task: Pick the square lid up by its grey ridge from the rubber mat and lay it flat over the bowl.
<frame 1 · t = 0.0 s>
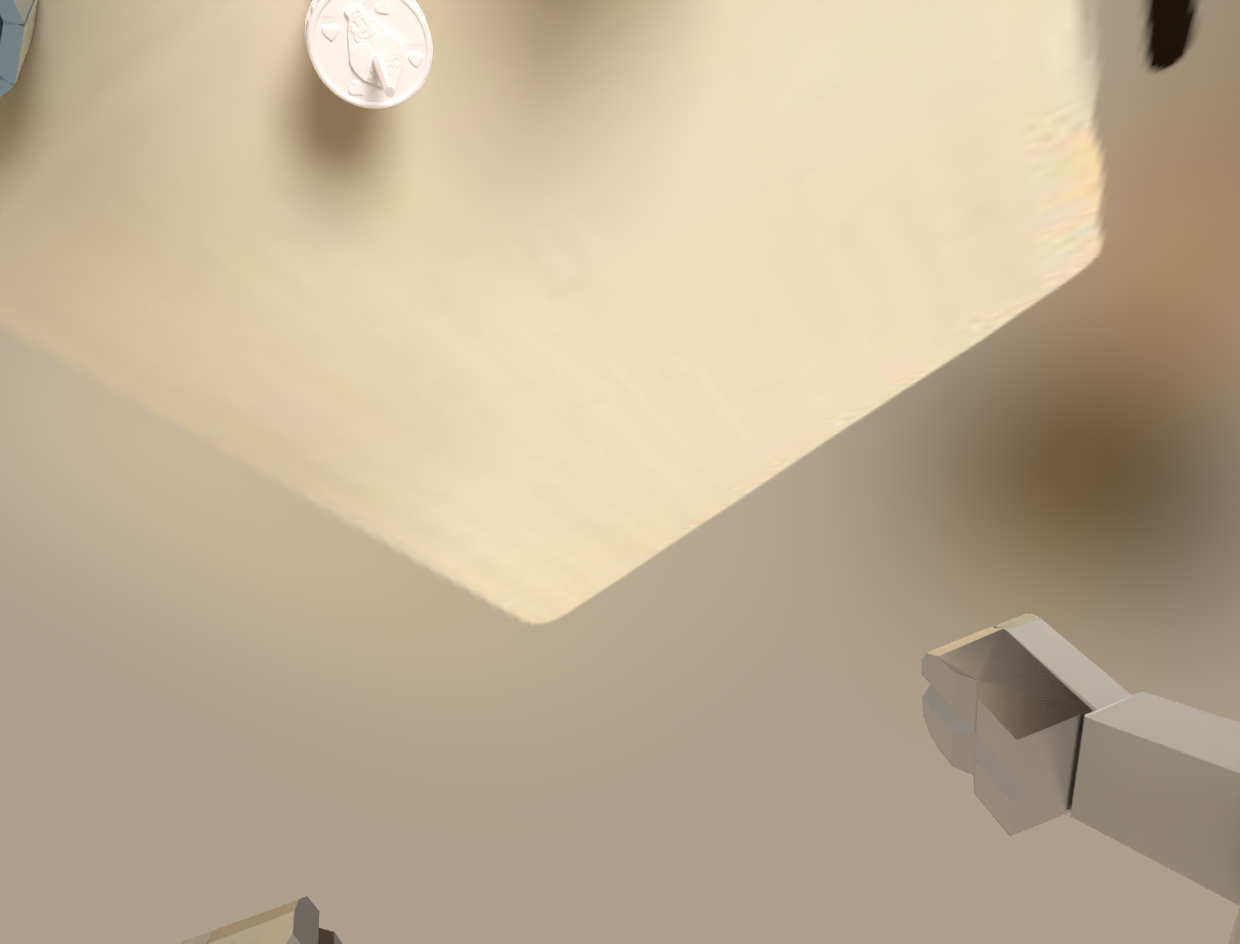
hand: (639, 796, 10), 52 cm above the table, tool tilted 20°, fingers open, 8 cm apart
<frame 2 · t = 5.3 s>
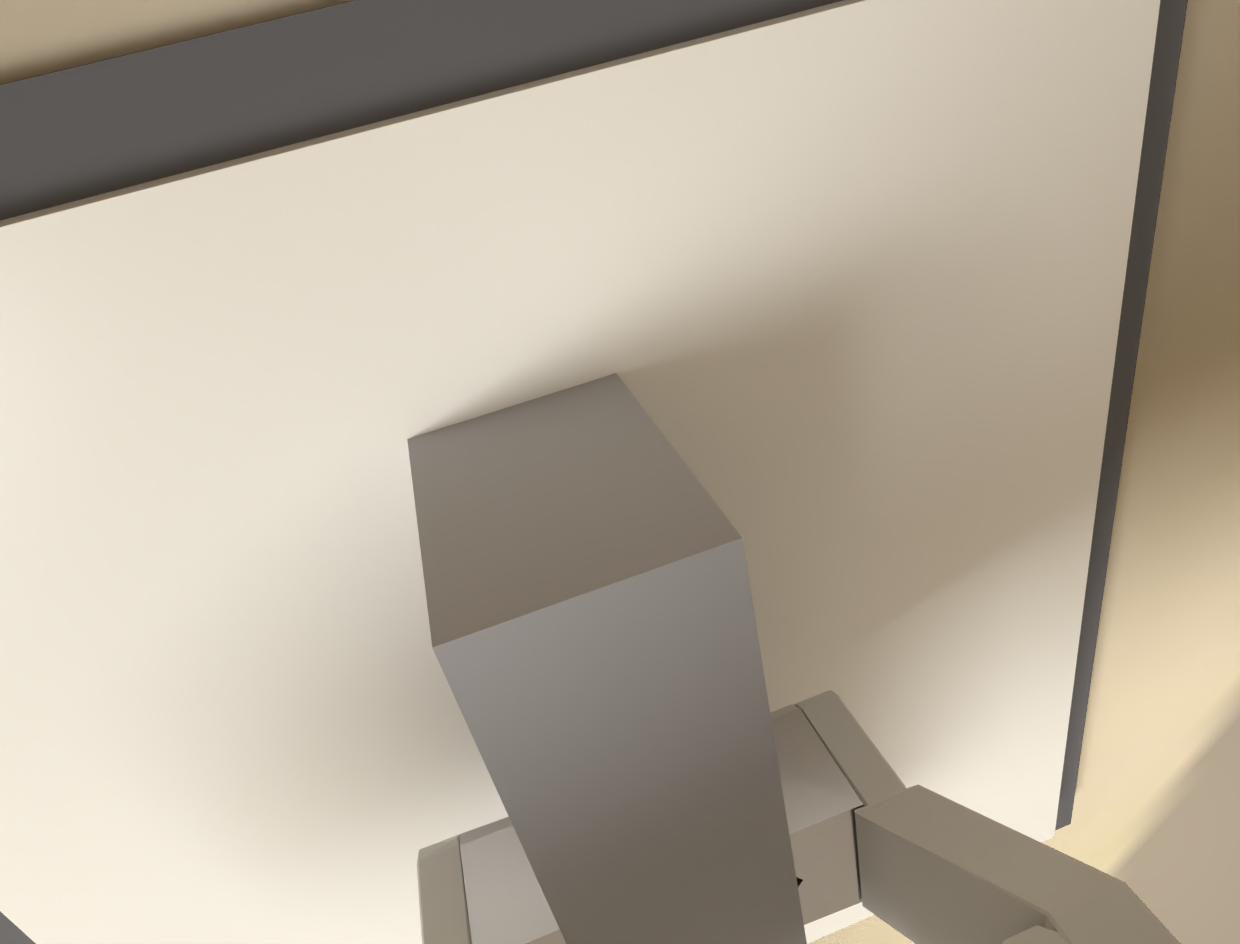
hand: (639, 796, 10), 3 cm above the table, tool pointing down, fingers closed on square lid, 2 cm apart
mat: (591, 661, 12), on the table
square lid: (598, 684, 12), resting on mat, touching gripper
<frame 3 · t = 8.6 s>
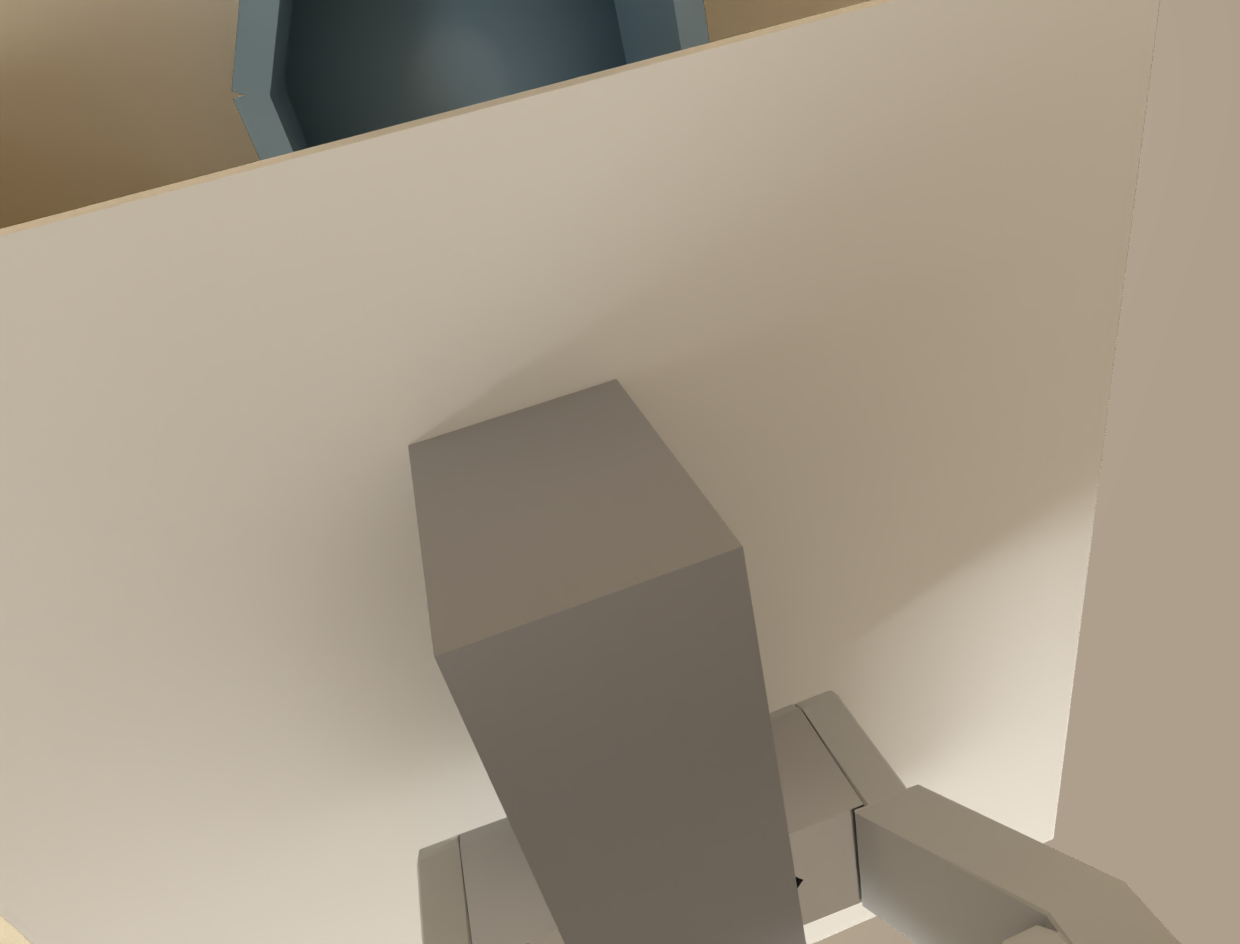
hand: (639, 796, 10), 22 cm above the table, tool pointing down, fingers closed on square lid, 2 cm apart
bowl: (464, 86, 25), on the table
square lid: (598, 687, 12), point 20 cm above the table, touching gripper
when the fingers open (10 cm above the table, at t = 12.0 s): square lid drops 1 cm, resting on bowl.
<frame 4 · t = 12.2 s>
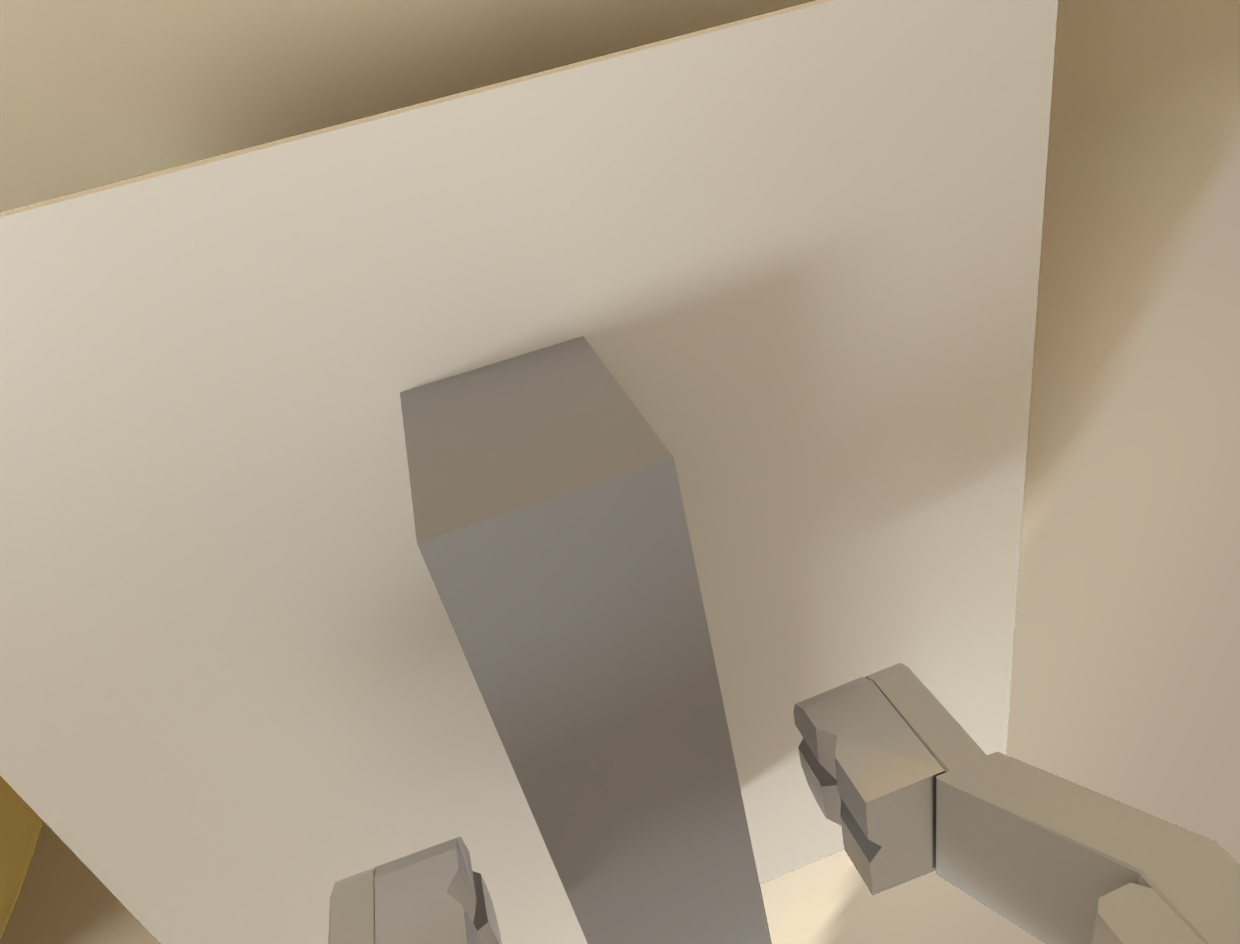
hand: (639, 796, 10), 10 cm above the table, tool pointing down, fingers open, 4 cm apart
square lid: (574, 625, 13), point 6 cm above the table, touching bowl
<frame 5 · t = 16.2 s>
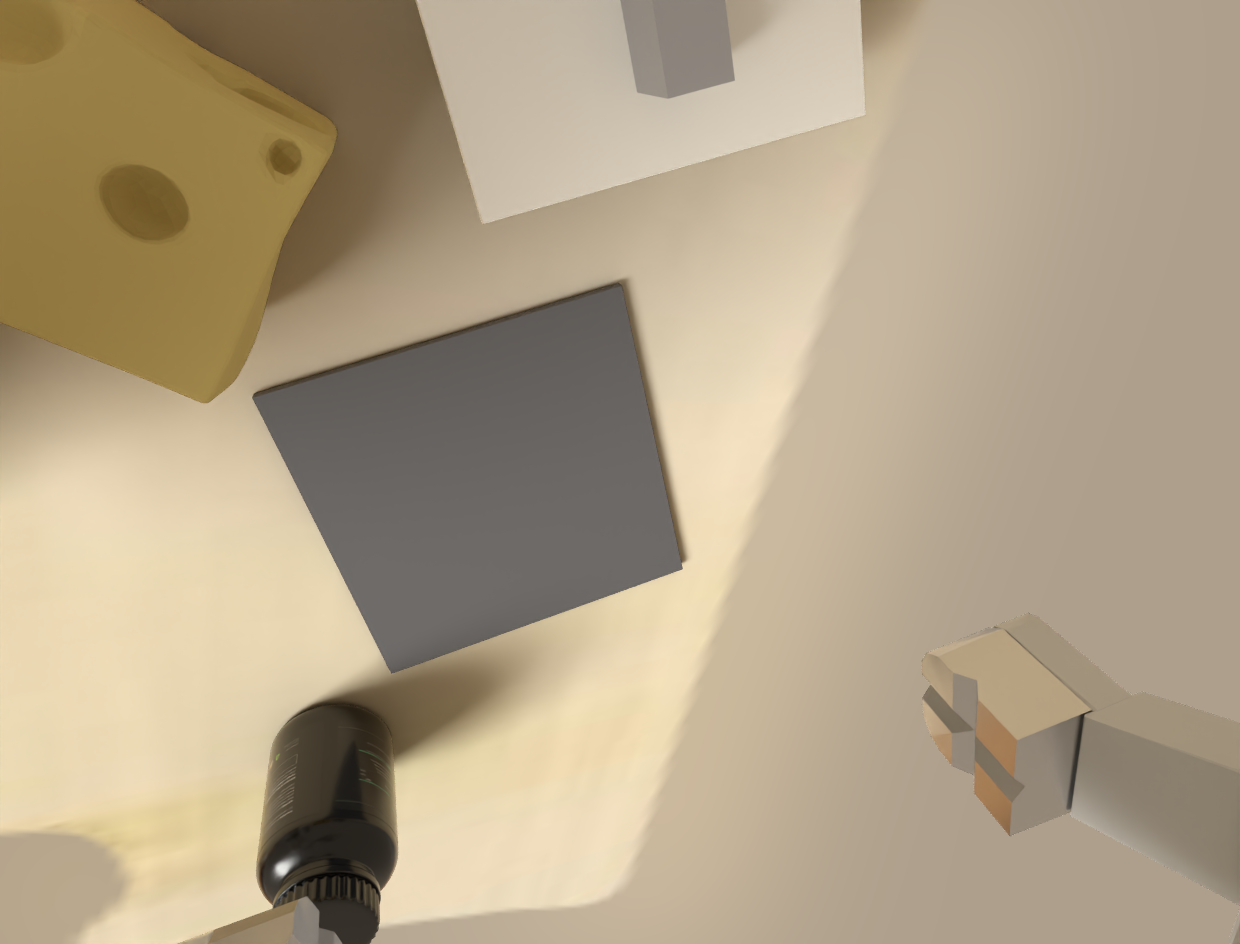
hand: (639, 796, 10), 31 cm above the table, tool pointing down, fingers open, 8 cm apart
cheese: (170, 165, 32), on the table
mat: (495, 490, 43), on the table
supplement bottle: (333, 741, 48), on the table
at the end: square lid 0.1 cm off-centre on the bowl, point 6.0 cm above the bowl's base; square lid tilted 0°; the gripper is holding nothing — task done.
